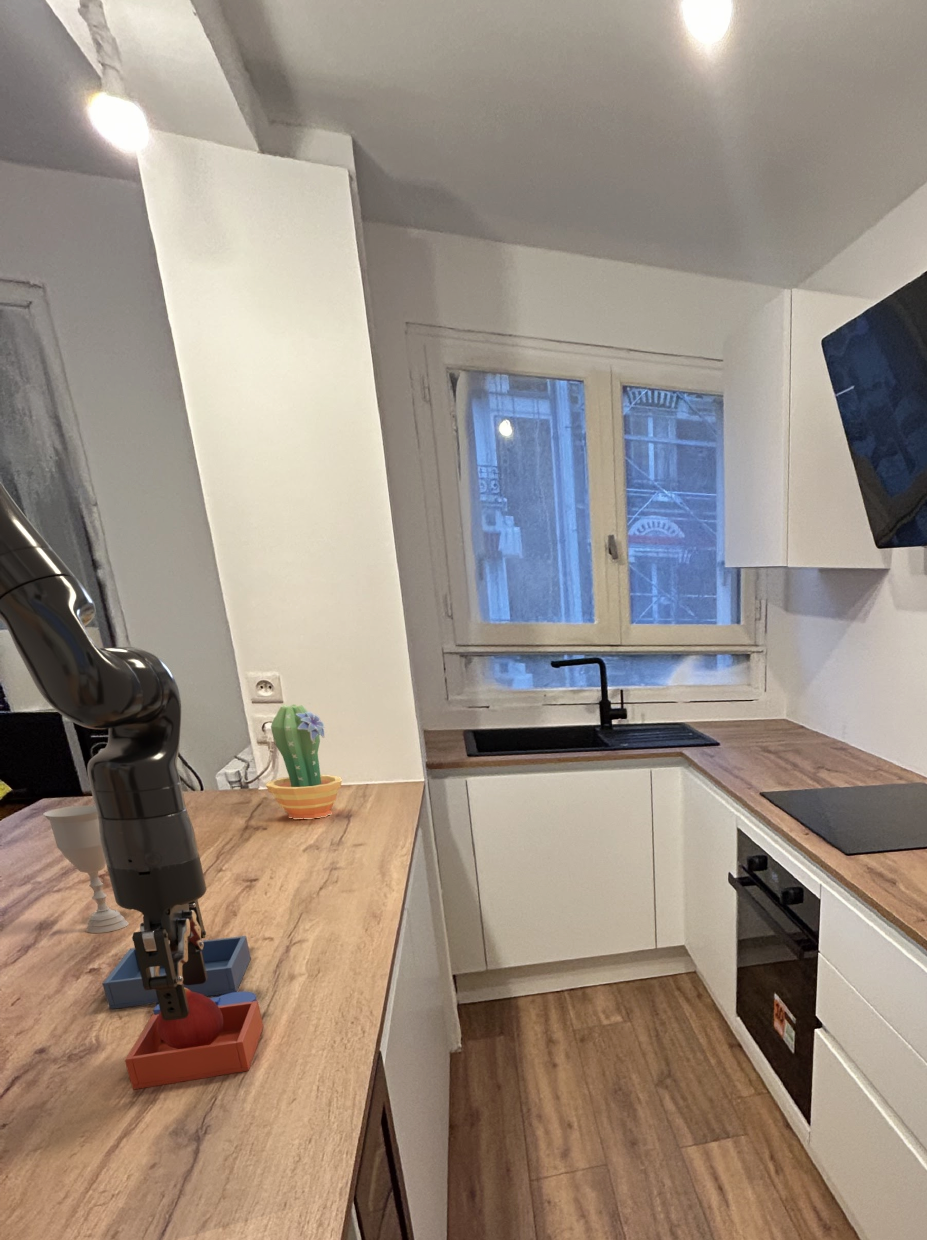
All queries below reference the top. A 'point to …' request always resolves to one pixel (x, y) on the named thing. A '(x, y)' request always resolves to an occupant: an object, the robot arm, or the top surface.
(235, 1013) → the terracotta bin
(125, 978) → the blue bin
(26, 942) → the top surface
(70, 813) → the chalice
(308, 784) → the potted cactus
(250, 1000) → the blue paddle
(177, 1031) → the onion
